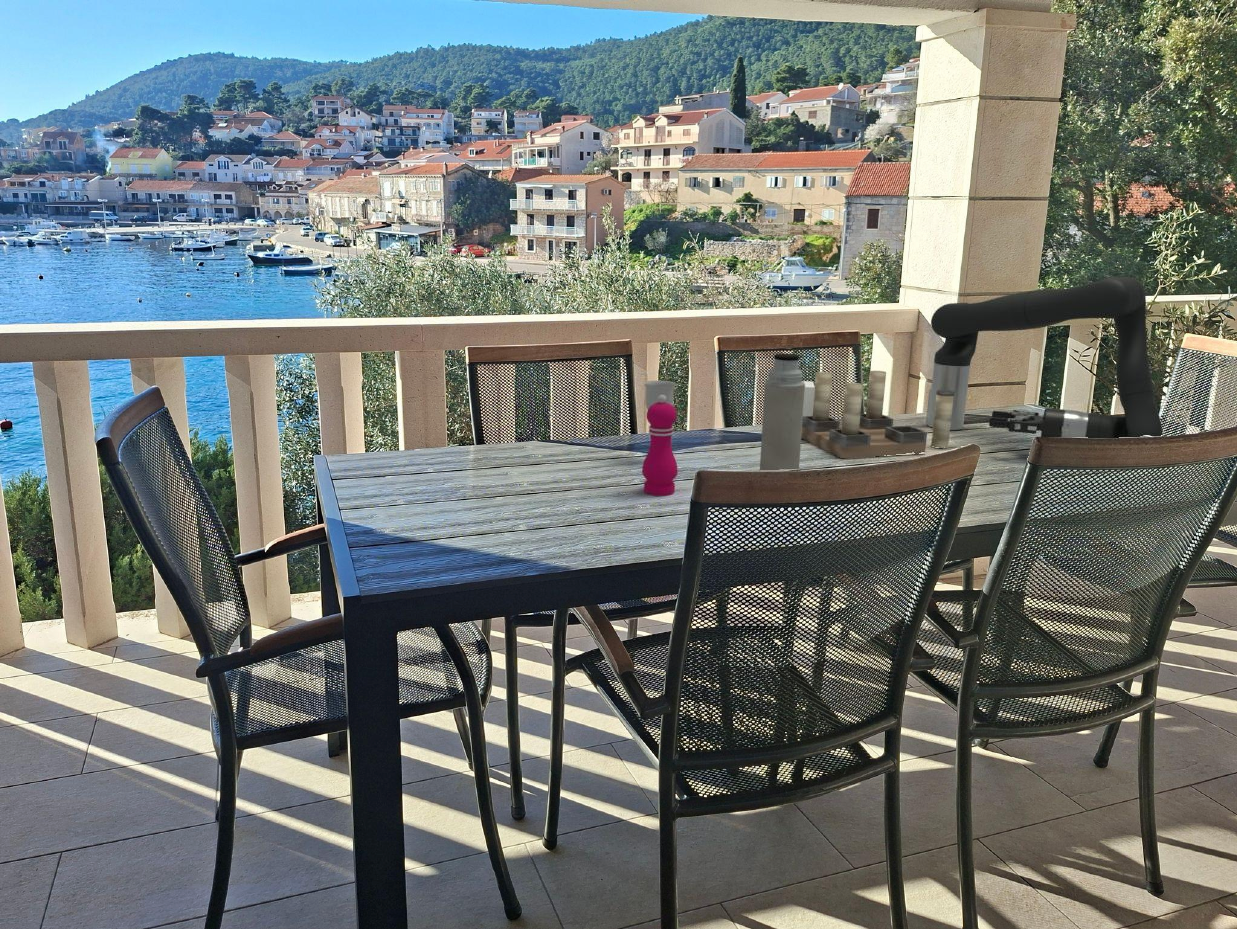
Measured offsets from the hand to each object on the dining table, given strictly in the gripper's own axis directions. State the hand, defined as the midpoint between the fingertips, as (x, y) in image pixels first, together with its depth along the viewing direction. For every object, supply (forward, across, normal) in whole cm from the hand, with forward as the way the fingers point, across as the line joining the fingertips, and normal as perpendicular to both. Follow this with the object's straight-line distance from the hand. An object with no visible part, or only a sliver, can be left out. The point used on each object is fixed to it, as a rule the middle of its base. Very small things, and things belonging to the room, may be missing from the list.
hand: (990, 418), depth 228 cm
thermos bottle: (+37, +54, +9) cm, 66 cm away
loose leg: (+11, 0, +8) cm, 14 cm away
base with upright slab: (+46, -4, +9) cm, 47 cm away
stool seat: (+29, +8, +8) cm, 31 cm away
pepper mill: (+58, +68, +9) cm, 90 cm away
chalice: (+68, +46, +9) cm, 82 cm away
